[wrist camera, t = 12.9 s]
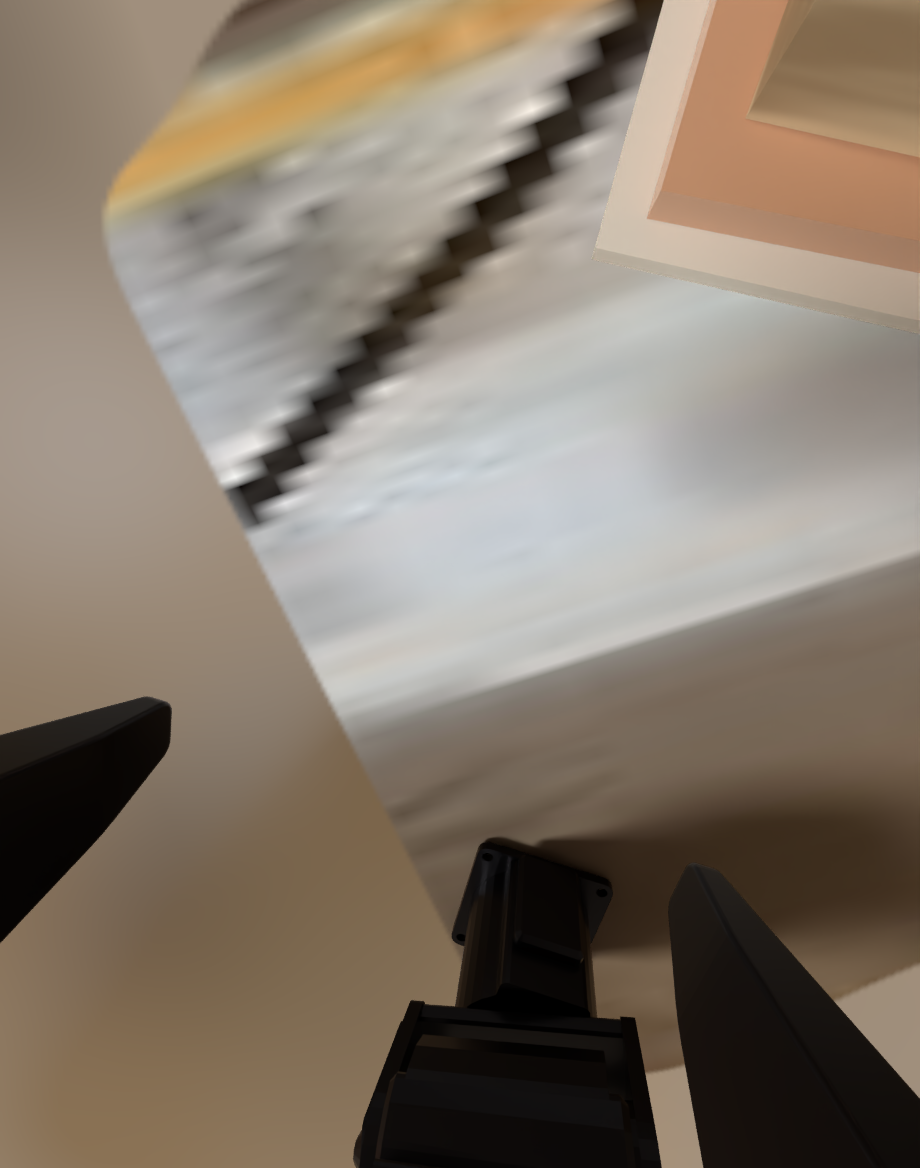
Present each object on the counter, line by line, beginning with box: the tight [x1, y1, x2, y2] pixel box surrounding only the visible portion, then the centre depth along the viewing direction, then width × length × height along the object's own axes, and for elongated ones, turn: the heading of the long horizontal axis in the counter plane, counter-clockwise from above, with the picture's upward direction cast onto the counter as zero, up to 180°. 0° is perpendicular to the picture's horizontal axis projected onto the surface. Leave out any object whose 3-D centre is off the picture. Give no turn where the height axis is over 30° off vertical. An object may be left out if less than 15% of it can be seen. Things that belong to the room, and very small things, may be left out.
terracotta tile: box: [647, 0, 920, 273], centre depth 13 cm, size 9×9×2 cm
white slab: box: [591, 0, 920, 334], centre depth 15 cm, size 11×11×2 cm
